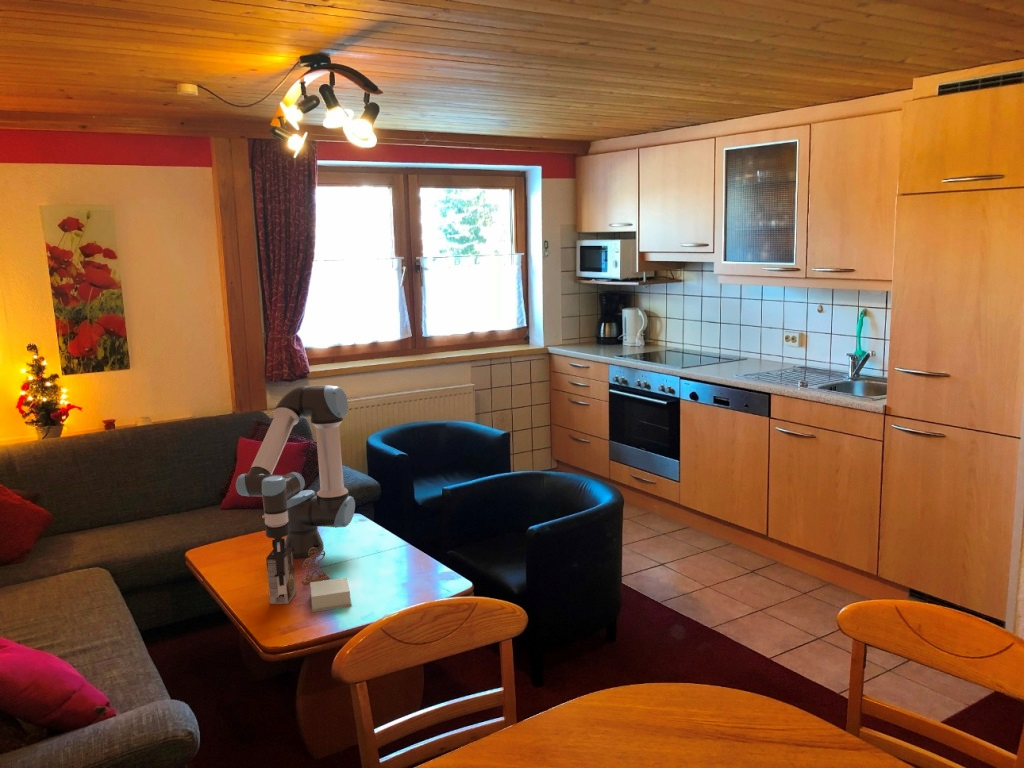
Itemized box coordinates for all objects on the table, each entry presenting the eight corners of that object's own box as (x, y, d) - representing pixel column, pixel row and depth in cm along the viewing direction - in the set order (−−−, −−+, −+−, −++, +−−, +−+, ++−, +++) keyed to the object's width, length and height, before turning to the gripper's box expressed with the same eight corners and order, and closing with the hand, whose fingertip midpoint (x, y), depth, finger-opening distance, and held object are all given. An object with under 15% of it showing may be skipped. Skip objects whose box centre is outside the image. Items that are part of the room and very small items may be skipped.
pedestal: (310, 596, 273) (309, 582, 272) (348, 590, 276) (347, 576, 275) (311, 611, 261) (310, 597, 260) (351, 606, 264) (350, 591, 263)
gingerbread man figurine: (304, 585, 283) (301, 552, 281) (301, 581, 286) (298, 548, 284) (329, 579, 287) (327, 546, 285) (326, 575, 290) (323, 543, 288)
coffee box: (278, 592, 277) (274, 547, 274) (296, 592, 276) (293, 547, 274) (269, 604, 268) (265, 557, 265) (288, 604, 267) (284, 557, 265)
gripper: (265, 514, 278) (270, 576, 281) (264, 536, 256) (270, 602, 260) (288, 511, 280) (293, 573, 283) (289, 533, 258) (294, 599, 262)
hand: (282, 587), depth 271 cm, fingers closed on coffee box, 10 cm apart
